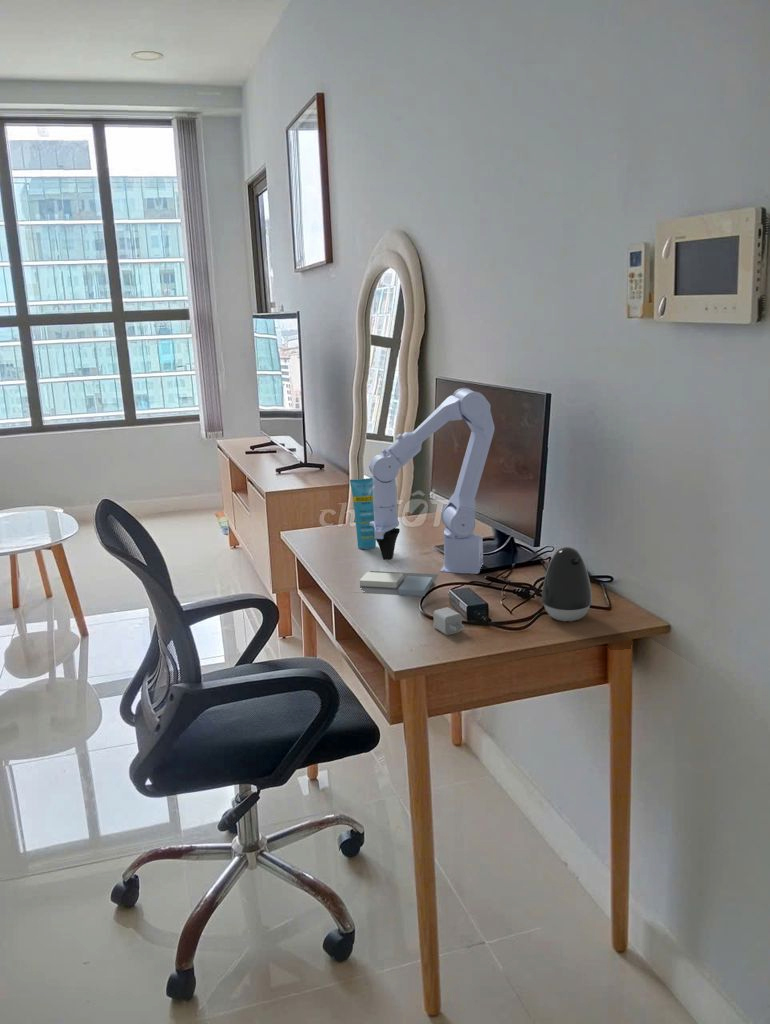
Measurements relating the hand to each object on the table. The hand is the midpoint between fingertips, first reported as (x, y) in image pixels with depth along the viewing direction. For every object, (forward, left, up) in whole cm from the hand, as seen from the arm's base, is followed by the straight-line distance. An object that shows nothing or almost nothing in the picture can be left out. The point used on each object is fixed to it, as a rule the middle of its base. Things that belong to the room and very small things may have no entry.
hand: (387, 559), depth 206 cm
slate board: (-9, +9, -4) cm, 13 cm away
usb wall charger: (-22, +31, -5) cm, 38 cm away
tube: (+12, -22, -5) cm, 25 cm away
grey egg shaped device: (-44, +19, -5) cm, 48 cm away
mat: (-3, +6, -4) cm, 8 cm away
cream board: (0, +3, -3) cm, 4 cm away
